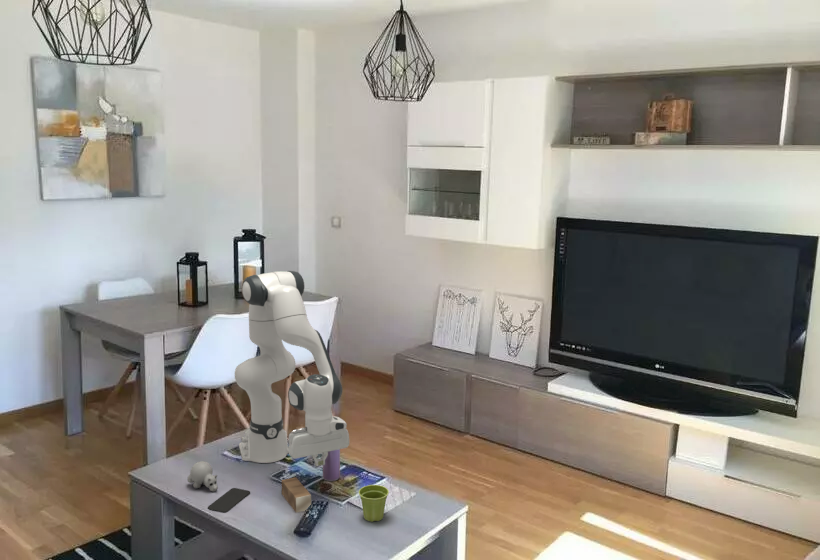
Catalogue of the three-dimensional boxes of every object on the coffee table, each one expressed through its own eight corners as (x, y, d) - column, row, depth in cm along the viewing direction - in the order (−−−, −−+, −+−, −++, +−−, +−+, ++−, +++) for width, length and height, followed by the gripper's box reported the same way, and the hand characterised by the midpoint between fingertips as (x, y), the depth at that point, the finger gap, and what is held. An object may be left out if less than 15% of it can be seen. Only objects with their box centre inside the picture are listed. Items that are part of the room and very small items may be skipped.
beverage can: (336, 482, 246) (337, 441, 244) (320, 480, 248) (320, 440, 245) (341, 475, 252) (342, 435, 250) (325, 473, 253) (325, 433, 251)
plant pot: (378, 527, 218) (378, 501, 216) (352, 519, 222) (352, 493, 221) (393, 514, 226) (394, 489, 224) (368, 507, 230) (369, 482, 229)
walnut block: (296, 512, 226) (281, 494, 238) (311, 509, 228) (295, 490, 240) (296, 498, 225) (281, 480, 237) (311, 494, 227) (295, 477, 239)
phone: (205, 507, 227) (232, 487, 241) (205, 510, 227) (232, 489, 241) (225, 512, 224) (251, 491, 238) (225, 514, 224) (251, 493, 238)
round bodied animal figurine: (204, 502, 236) (209, 483, 233) (183, 480, 242) (188, 461, 238) (222, 494, 242) (227, 475, 238) (201, 472, 247) (205, 454, 244)
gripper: (291, 434, 224) (293, 475, 226) (351, 422, 234) (351, 462, 236) (285, 427, 230) (286, 468, 232) (343, 416, 239) (343, 455, 242)
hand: (319, 465), depth 234 cm, fingers closed
